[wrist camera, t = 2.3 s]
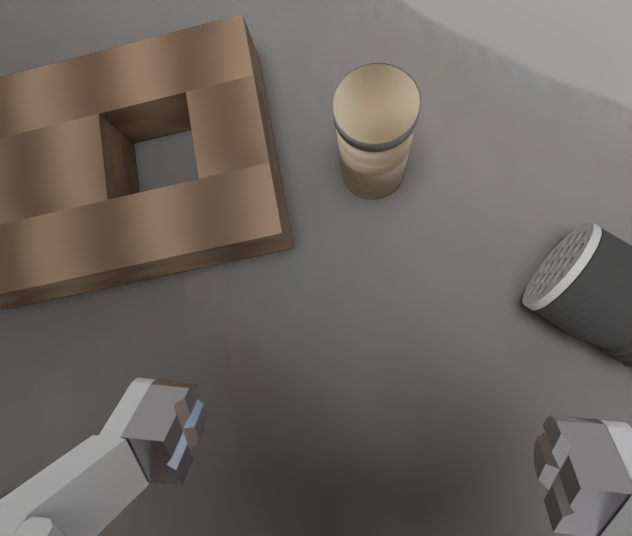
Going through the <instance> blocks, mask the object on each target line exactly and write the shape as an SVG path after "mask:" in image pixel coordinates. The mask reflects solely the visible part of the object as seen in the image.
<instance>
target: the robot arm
mask: <svg viewBox="0 0 632 536" xmlns="http://www.w3.org/2000/svg"><path fill="white" fill-rule="evenodd" d="M199 394H200V391H199V388H198V385H197V384H192V383H183V382H175V381H166V380H158V379H148V378H136V379H135V380H134V381H133V382H131V384H130V385H129V387H128V388H127V390H126V392H125V393H124V395H123V397H122V398H121V400H120V401H119V403H118V405H117V406H116V408H115V410H114V411H113V413H112V414H111V416H110V418H109V419H108V421H107V422H106V424H105V426H104V427H103V429H102V431H101V432H100V434H99V435H92V436H91V437H89V438H88V439H86V440H85V441H83V442H82V443H81V444H79V445H78V446H76V447H75V448H73V449H72V450H71V451H69V452H68V453H66V454H65V455H63V456H62V457H61V458H59V459H58V460H56V461H55V462H53V463H52V464H51V465H49V466H48V467H46V468H45V469H43V470H42V471H40V472H39V473H38V474H36V475H35V476H33V477H32V478H30V479H29V480H28V481H26V482H25V483H23V484H22V485H20V486H19V487H18V488H16V489H15V490H13V491H12V492H10V493H9V494H8V495H6V496H5V497H3V498H2V499H0V536H97V535H98V534H99V533H100V532H101V531H102V530H103V529H104V528H105V527H106V526H107V525H108V524H109V523H110V522H111V521H112V520H113V519H114V518H115V517H116V516H117V515H118V514H119V513H120V512H121V511H122V510H123V509H124V508H125V507H126V506H127V505H129V504H130V503H131V502H132V501H133V500H134V499H135V498H136V497H137V496H138V495H139V494H140V493H141V492H142V491H143V490H144V489H145V488H146V487H147V486H148V485H149V483H148V482H151V483H161V484H172V485H183V483H184V480H185V478H186V475H187V473H188V470H189V468H190V465H191V463H192V460H193V458H192V454H191V451H190V450H191V449H192V448H193V447H194V446H195V445H197V444H198V443H199V442H200V440H201V437H202V434H203V432H204V427H205V421H206V410H205V407H204V404H203V403H202V402H201V401H199V400H198V397H199ZM543 426H544V429H545V433H544V434H542V435H541V436H539V437H538V438H537V440H536V443H535V445H534V464H535V470H536V474H537V477H538V480H539V481H540V482H541V483H542V484H543V485H544V486H545V487H546V488H547V490H548V493H547V495H546V497H545V499H544V502H545V505H546V509H547V512H548V516H549V519H550V523H551V526H552V529H553V532H554V533H561V534H567V535H574V536H632V428H631V427H630V426H629V425H628V424H627V423H625V422H617V421H604V420H597V419H588V418H575V417H562V416H549V417H548V418H546V420H545V422H544V424H543Z"/></svg>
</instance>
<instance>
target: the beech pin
mask: <svg viewBox="0 0 632 536" xmlns="http://www.w3.org/2000/svg"><path fill="white" fill-rule="evenodd" d="M420 109H421V96H420V91H419V88H418V86H417V84H416V82H415V81H414V80H413V78H412V77H411V76H410V75H409V74H408V73H407V72H405V71H404V70H402V69H401V68H399V67H396V66H394V65H391V64H386V63H371V64H366V65H363V66H360V67H358V68H356V69H354V70H352V71H351V72H350V73H348V74H347V75H346V76H345V77H344V78H343V79H342V80H341V81H340V83H339V84H338V86H337V87H336V90H335V92H334V95H333V99H332V112H333V119H334V124H335V127H336V132H337V139H338V146H339V153H340V160H341V167H342V174H343V179H344V182H345V184H346V185H347V187H348V188H349V189H350V190H351V191H352V192H353V193H354V194H356V195H357V196H359V197H362V198H365V199H380V198H384V197H386V196H388V195H390V194H391V193H393V192H394V191H395V190H396V189H397V188H398V187H399V185H400V184H401V182H402V180H403V177H404V173H405V168H406V164H407V160H408V156H409V151H410V147H411V143H412V138H413V134H414V130H415V127H416V124H417V121H418V117H419V113H420Z"/></svg>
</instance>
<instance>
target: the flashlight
mask: <svg viewBox="0 0 632 536" xmlns="http://www.w3.org/2000/svg"><path fill="white" fill-rule="evenodd" d="M522 302H523V304H524V305H525V306H526V307H528V308H529V309H531V310H533V311H534V312H536V313H537V314H539V315H540V316H542V317H543V318H545V319H546V320H548V321H549V322H551V323H553V324H554V325H556V326H557V327H559V328H560V329H562V330H563V331H565V332H566V333H568V334H569V335H571V336H573V337H575V338H578V339H581V340H584V341H586V342H589V343H592V344H594V345H597V346H600V347H601V348H602V350H603V351H604V352H605V353H607V354H610V355H611V356H612V357H613V358H615V359H617V360H619V361H621V362H622V363H623V364H624V365H626V366H628V367H632V246H631V245H629V244H628V243H626V242H624V241H622V240H621V239H619V238H617V237H616V236H614V235H612V234H611V233H609V232H607V231H605V230H604V229H602V228H600V227H599V226H597V225H595V224H594V223H592V222H587V223H584V224H582V225H580V226H579V227H577V228H576V229H574V230H573V231H571V232H570V233H569V234H568V235H567V236H566V237H565V238H564V239H563V240H562V241H561V242H560V243H558V244H557V245H556V247H555V248H554V249H553V250H552V251H551V252H550V253H549V254H548V256H547V257H546V258H545V260H544V261H543V262H542V264H541V265H540V267H539V268H538V270H537V271H536V273H535V274H534V276H533V277H532V279H531V280H530V282H529V283H528V285H527V287H526V289H525V292H524V295H523V299H522Z"/></svg>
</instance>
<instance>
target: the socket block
mask: <svg viewBox="0 0 632 536" xmlns="http://www.w3.org/2000/svg"><path fill="white" fill-rule="evenodd" d="M190 129H191V130H192V137H193V144H194V151H195V157H196V164H197V171H198V178H199V179H196V180H192V181H187V182H183V183H179V184H174V185H170V186H166V187H161V188H157V189H153V190H148V191H144V192H140V193H139V185H138V176H137V168H136V160H135V152H134V143H136V142H140V141H144V140H148V139H152V138H156V137H161V136H165V135H169V134H173V133H177V132H181V131H185V130H190ZM291 248H294V245H293V240H292V234H291V229H290V224H289V218H288V213H287V207H286V202H285V197H284V191H283V186H282V180H281V175H280V170H279V164H278V159H277V153H276V148H275V142H274V137H273V132H272V126H271V121H270V115H269V110H268V105H267V99H266V94H265V88H264V83H263V77H262V72H261V67H260V61H259V56H258V54H257V51H256V48H255V46H254V43H253V40H252V38H251V35H250V33H249V30H248V27H247V25H246V22H245V20H244V17H243V14H241V15H237V16H233V17H229V18H225V19H222V20H218V21H214V22H210V23H206V24H202V25H199V26H195V27H191V28H187V29H183V30H179V31H176V32H172V33H168V34H164V35H160V36H157V37H153V38H149V39H145V40H141V41H137V42H134V43H130V44H126V45H122V46H118V47H114V48H111V49H107V50H103V51H99V52H95V53H91V54H88V55H84V56H80V57H76V58H72V59H69V60H65V61H61V62H57V63H53V64H49V65H46V66H42V67H38V68H34V69H30V70H26V71H23V72H19V73H15V74H11V75H7V76H3V77H0V308H4V309H10V308H14V307H19V306H24V305H28V304H33V303H38V302H43V301H47V300H52V299H57V298H61V297H66V296H71V295H75V294H80V293H85V292H89V291H94V290H99V289H104V288H108V287H113V286H118V285H122V284H127V283H132V282H136V281H141V280H146V279H151V278H155V277H160V276H165V275H169V274H174V273H179V272H183V271H188V270H193V269H198V268H202V267H207V266H212V265H216V264H221V263H226V262H230V261H235V260H240V259H244V258H249V257H254V256H259V255H263V254H268V253H273V252H277V251H282V250H287V249H291Z"/></svg>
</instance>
